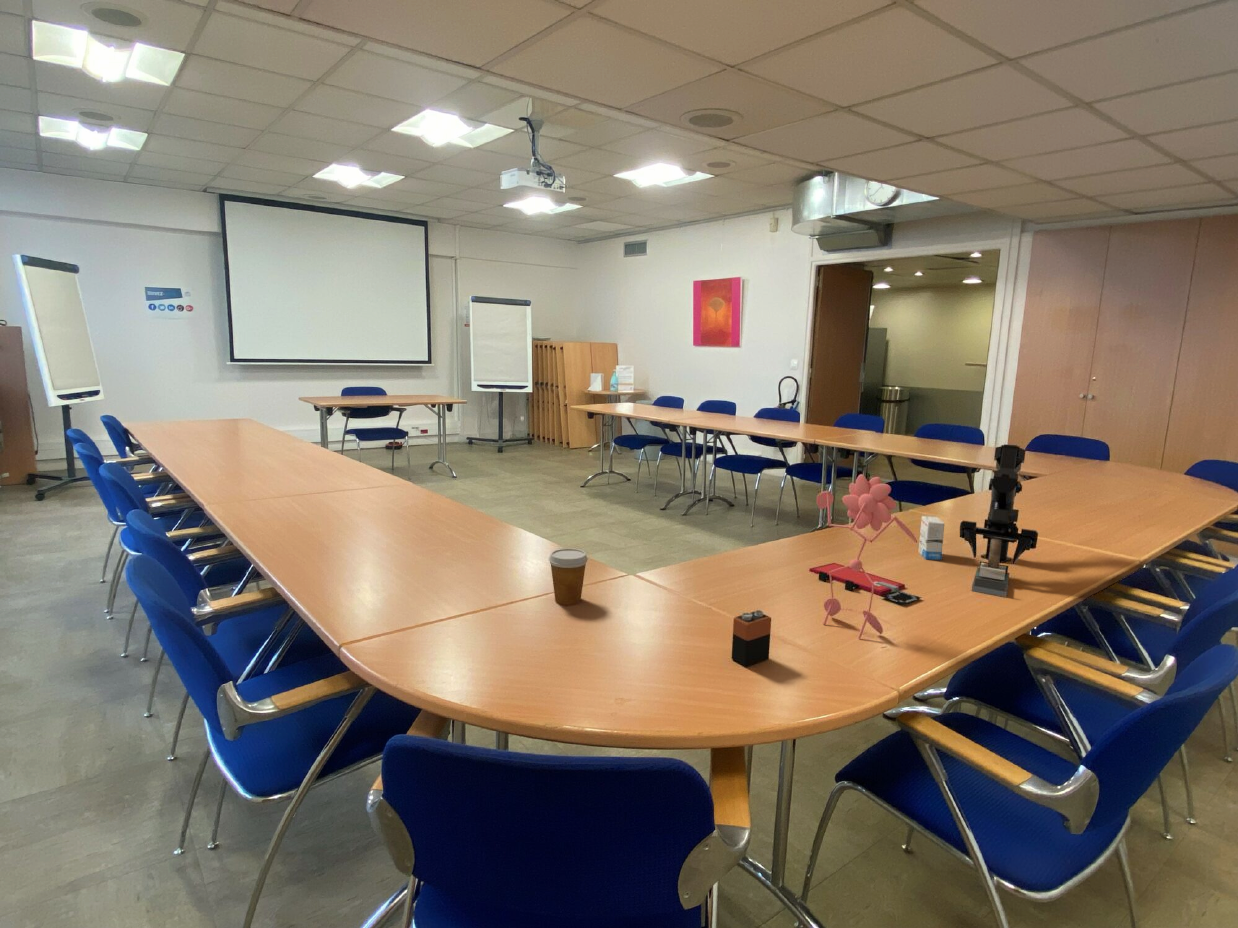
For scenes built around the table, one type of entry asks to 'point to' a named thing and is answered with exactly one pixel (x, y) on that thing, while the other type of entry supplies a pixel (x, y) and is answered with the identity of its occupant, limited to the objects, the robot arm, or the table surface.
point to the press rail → (991, 583)
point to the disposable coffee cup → (568, 574)
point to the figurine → (865, 508)
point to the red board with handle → (864, 582)
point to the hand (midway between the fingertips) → (993, 560)
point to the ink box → (931, 538)
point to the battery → (751, 638)
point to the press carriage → (993, 562)
